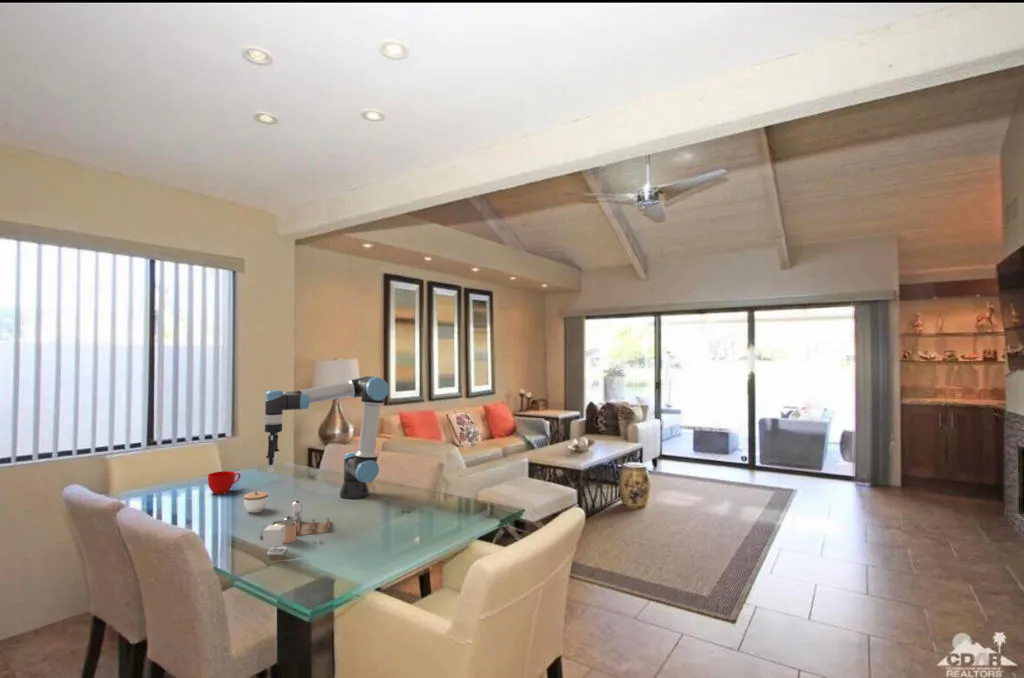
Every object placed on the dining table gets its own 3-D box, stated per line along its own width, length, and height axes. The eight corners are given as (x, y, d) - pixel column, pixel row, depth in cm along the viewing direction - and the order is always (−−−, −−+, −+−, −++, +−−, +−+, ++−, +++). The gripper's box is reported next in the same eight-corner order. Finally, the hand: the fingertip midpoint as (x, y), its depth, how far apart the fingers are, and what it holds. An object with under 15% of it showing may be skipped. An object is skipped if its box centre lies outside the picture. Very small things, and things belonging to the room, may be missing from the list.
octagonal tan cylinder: (296, 538, 217) (296, 521, 217) (295, 543, 211) (296, 526, 211) (279, 539, 214) (279, 522, 214) (278, 545, 208) (278, 527, 208)
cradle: (295, 525, 232) (295, 518, 232) (294, 536, 218) (294, 529, 218) (263, 528, 228) (263, 521, 228) (260, 540, 213) (260, 533, 213)
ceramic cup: (246, 490, 288) (246, 472, 288) (215, 497, 274) (215, 478, 274) (233, 486, 295) (233, 468, 295) (202, 493, 280) (202, 474, 281)
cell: (301, 520, 239) (302, 499, 239) (301, 523, 235) (302, 501, 235) (292, 521, 238) (292, 500, 238) (291, 523, 234) (292, 502, 234)
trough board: (328, 523, 236) (329, 517, 236) (330, 533, 223) (330, 527, 223) (297, 526, 231) (297, 521, 231) (296, 536, 218) (296, 531, 218)
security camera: (268, 550, 203) (269, 524, 203) (287, 550, 204) (287, 524, 204) (262, 556, 197) (263, 530, 197) (281, 556, 197) (282, 529, 198)
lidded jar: (257, 515, 246) (258, 495, 246) (238, 513, 248) (238, 493, 248) (272, 508, 256) (273, 489, 256) (253, 506, 258) (254, 487, 258)
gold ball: (283, 529, 224) (283, 522, 224) (282, 532, 221) (283, 525, 221) (274, 530, 223) (274, 523, 223) (273, 533, 219) (273, 526, 220)
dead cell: (293, 538, 215) (293, 514, 215) (292, 541, 211) (293, 517, 212) (282, 539, 214) (283, 515, 214) (281, 542, 210) (282, 518, 210)
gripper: (268, 420, 256) (266, 463, 255) (261, 427, 232) (260, 475, 232) (284, 419, 258) (283, 462, 258) (279, 426, 235) (278, 474, 234)
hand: (272, 468), depth 245 cm, fingers open, 13 cm apart
